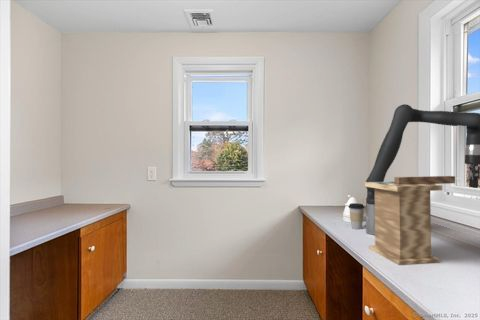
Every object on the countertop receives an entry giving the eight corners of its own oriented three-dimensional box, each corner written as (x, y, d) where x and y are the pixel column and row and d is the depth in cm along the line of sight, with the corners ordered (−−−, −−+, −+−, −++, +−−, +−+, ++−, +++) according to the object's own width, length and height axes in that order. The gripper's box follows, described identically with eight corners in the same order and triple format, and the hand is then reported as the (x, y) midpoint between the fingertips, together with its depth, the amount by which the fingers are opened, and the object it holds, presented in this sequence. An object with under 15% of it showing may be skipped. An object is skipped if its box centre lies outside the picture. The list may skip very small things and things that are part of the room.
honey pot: (344, 222, 201) (344, 196, 201) (341, 218, 214) (341, 194, 214) (364, 223, 199) (364, 196, 199) (360, 219, 212) (359, 194, 212)
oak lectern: (404, 246, 145) (403, 180, 145) (443, 263, 121) (442, 184, 121) (365, 248, 143) (365, 181, 143) (398, 265, 119) (397, 185, 119)
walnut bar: (449, 182, 130) (449, 176, 130) (455, 183, 127) (455, 176, 127) (394, 184, 127) (394, 177, 127) (399, 184, 124) (399, 177, 124)
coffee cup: (364, 227, 187) (363, 203, 187) (365, 230, 178) (365, 205, 178) (348, 226, 190) (348, 202, 190) (348, 229, 181) (348, 205, 181)
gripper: (462, 155, 153) (461, 186, 153) (467, 153, 141) (465, 187, 140) (481, 155, 149) (480, 187, 149) (487, 153, 137) (486, 188, 136)
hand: (473, 187), depth 144 cm, fingers open, 8 cm apart
